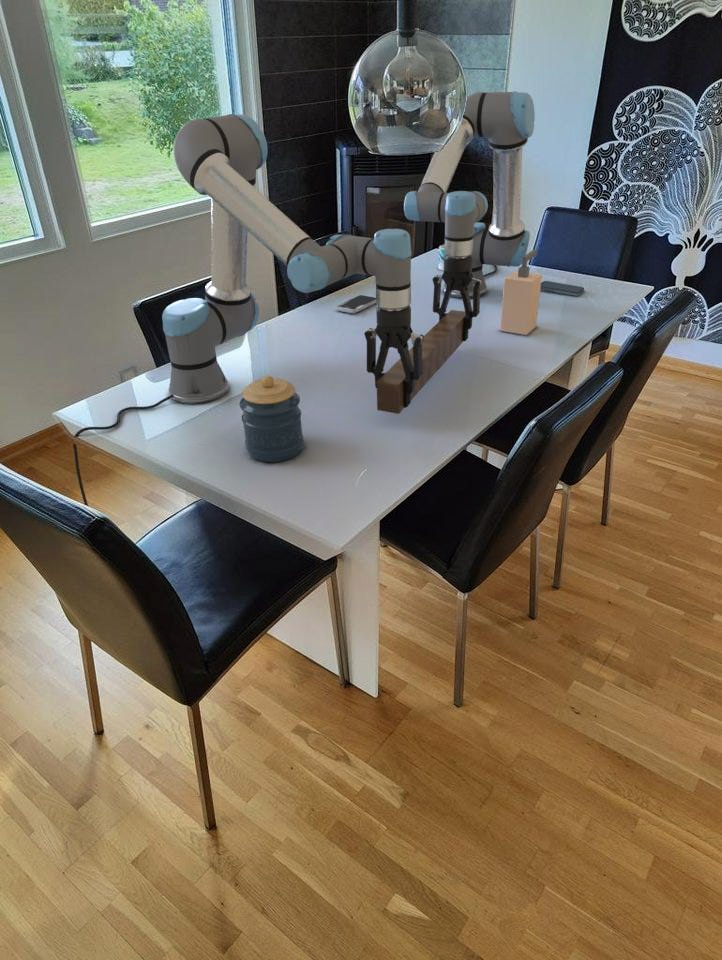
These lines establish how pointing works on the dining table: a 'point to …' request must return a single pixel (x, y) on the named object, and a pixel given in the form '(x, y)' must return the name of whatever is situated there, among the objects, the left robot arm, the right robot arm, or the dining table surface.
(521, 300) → the soap dispenser
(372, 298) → the smartphone
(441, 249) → the mug
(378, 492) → the dining table surface
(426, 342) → the post
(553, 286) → the smartphone
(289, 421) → the canister
